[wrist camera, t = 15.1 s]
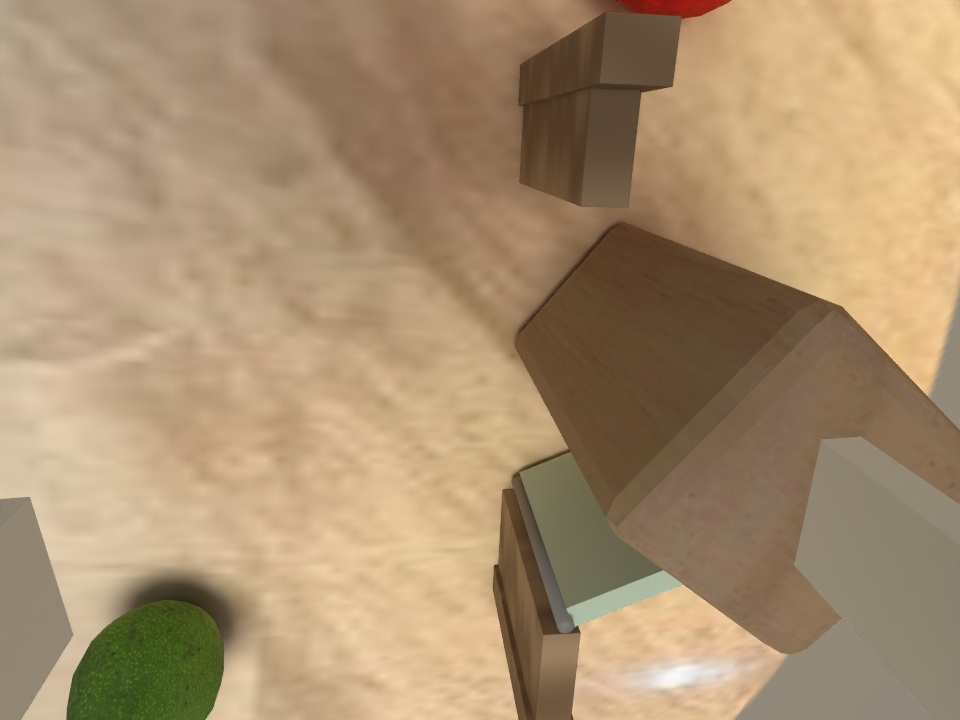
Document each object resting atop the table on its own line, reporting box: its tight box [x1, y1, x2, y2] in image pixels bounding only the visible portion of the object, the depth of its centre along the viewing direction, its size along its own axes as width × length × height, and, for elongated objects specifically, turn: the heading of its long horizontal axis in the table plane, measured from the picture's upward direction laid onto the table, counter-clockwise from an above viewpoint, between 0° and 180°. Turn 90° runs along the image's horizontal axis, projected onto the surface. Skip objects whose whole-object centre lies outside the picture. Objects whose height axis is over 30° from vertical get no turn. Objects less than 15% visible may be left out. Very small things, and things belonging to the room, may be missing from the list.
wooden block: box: [515, 223, 960, 655], centre depth 30 cm, size 10×10×20 cm
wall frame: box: [493, 12, 681, 720], centre depth 32 cm, size 34×2×15 cm, turn 178°
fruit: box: [67, 600, 224, 720], centre depth 37 cm, size 8×8×12 cm
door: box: [512, 452, 683, 633], centre depth 35 cm, size 19×1×13 cm, turn 111°
